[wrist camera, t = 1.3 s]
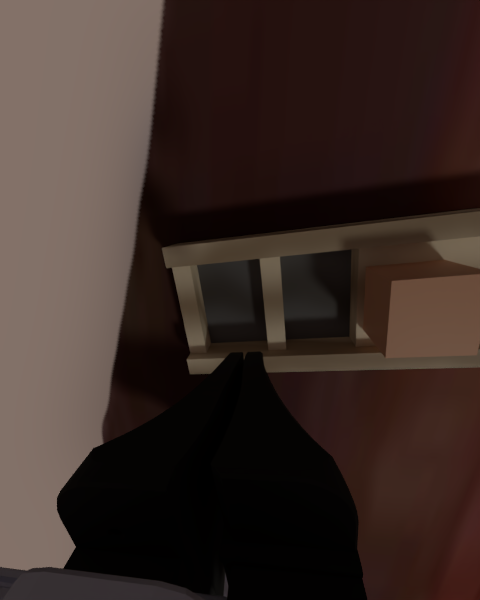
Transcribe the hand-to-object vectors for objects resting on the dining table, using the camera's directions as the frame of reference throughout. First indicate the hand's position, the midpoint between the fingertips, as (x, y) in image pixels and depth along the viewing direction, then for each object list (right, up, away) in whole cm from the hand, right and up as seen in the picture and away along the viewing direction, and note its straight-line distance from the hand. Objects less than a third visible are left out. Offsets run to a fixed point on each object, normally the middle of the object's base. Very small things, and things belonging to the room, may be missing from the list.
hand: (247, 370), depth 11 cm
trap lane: (+10, +4, +8) cm, 13 cm away
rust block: (+11, +4, +6) cm, 13 cm away
